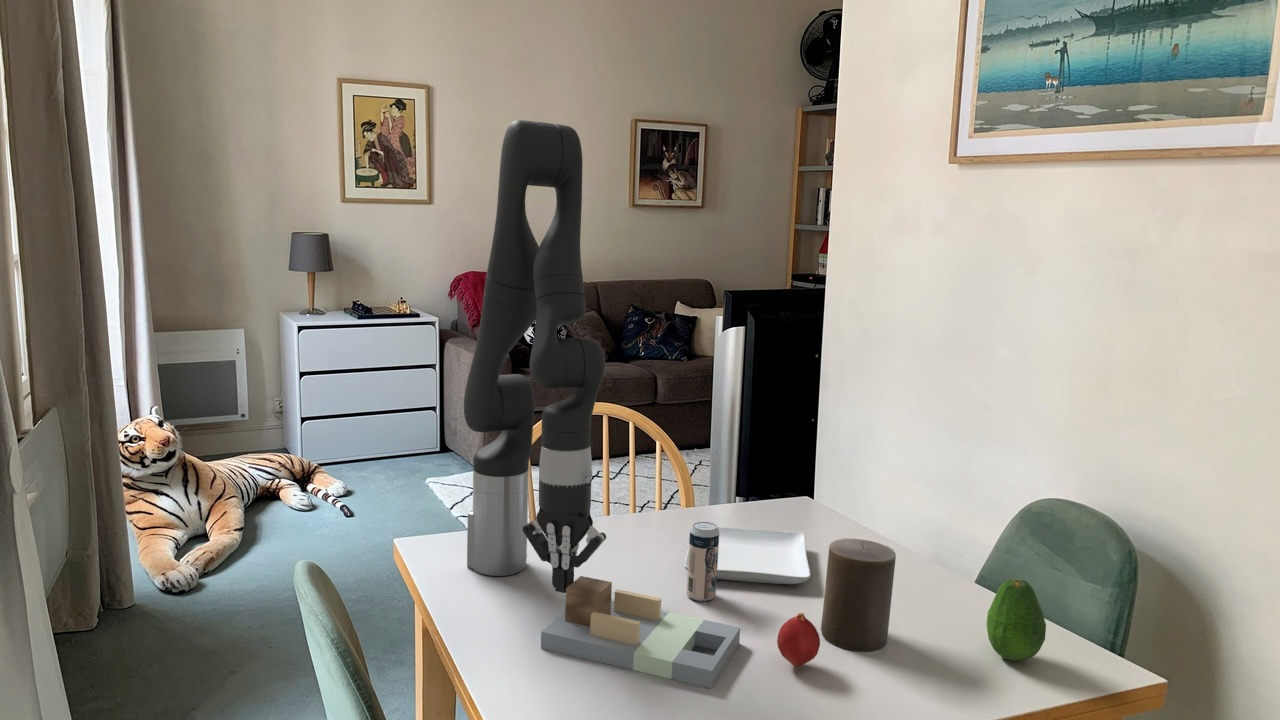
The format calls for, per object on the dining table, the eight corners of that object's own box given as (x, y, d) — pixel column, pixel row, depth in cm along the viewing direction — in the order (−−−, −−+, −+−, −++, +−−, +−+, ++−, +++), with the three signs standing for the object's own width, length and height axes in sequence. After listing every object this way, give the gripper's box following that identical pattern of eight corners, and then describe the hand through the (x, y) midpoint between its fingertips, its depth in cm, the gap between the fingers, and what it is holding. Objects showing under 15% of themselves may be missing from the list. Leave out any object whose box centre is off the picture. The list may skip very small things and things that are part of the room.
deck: (540, 648, 130) (541, 611, 129) (582, 609, 142) (584, 575, 141) (710, 688, 121) (713, 649, 120) (739, 643, 134) (741, 607, 133)
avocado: (971, 648, 135) (980, 571, 133) (1017, 643, 137) (1026, 567, 135) (1007, 675, 127) (1017, 593, 126) (1054, 670, 130) (1065, 589, 128)
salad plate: (682, 584, 154) (683, 565, 154) (690, 539, 175) (691, 522, 175) (810, 595, 152) (811, 576, 152) (803, 549, 173) (804, 531, 172)
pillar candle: (849, 657, 131) (860, 556, 128) (807, 627, 139) (816, 533, 137) (901, 645, 135) (912, 548, 133) (857, 617, 144) (866, 526, 141)
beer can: (713, 604, 146) (718, 532, 144) (684, 600, 147) (688, 529, 145) (717, 592, 151) (721, 522, 149) (688, 588, 152) (692, 519, 150)
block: (565, 621, 133) (566, 588, 132) (579, 607, 137) (580, 575, 136) (596, 628, 131) (597, 594, 130) (610, 614, 136) (611, 582, 135)
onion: (771, 656, 130) (775, 602, 129) (811, 656, 131) (815, 603, 129) (780, 677, 124) (785, 621, 123) (822, 677, 125) (827, 621, 124)
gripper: (511, 476, 131) (510, 592, 134) (596, 488, 126) (593, 608, 129) (536, 464, 138) (534, 574, 141) (617, 475, 133) (614, 589, 136)
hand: (563, 590), depth 135 cm, fingers closed
